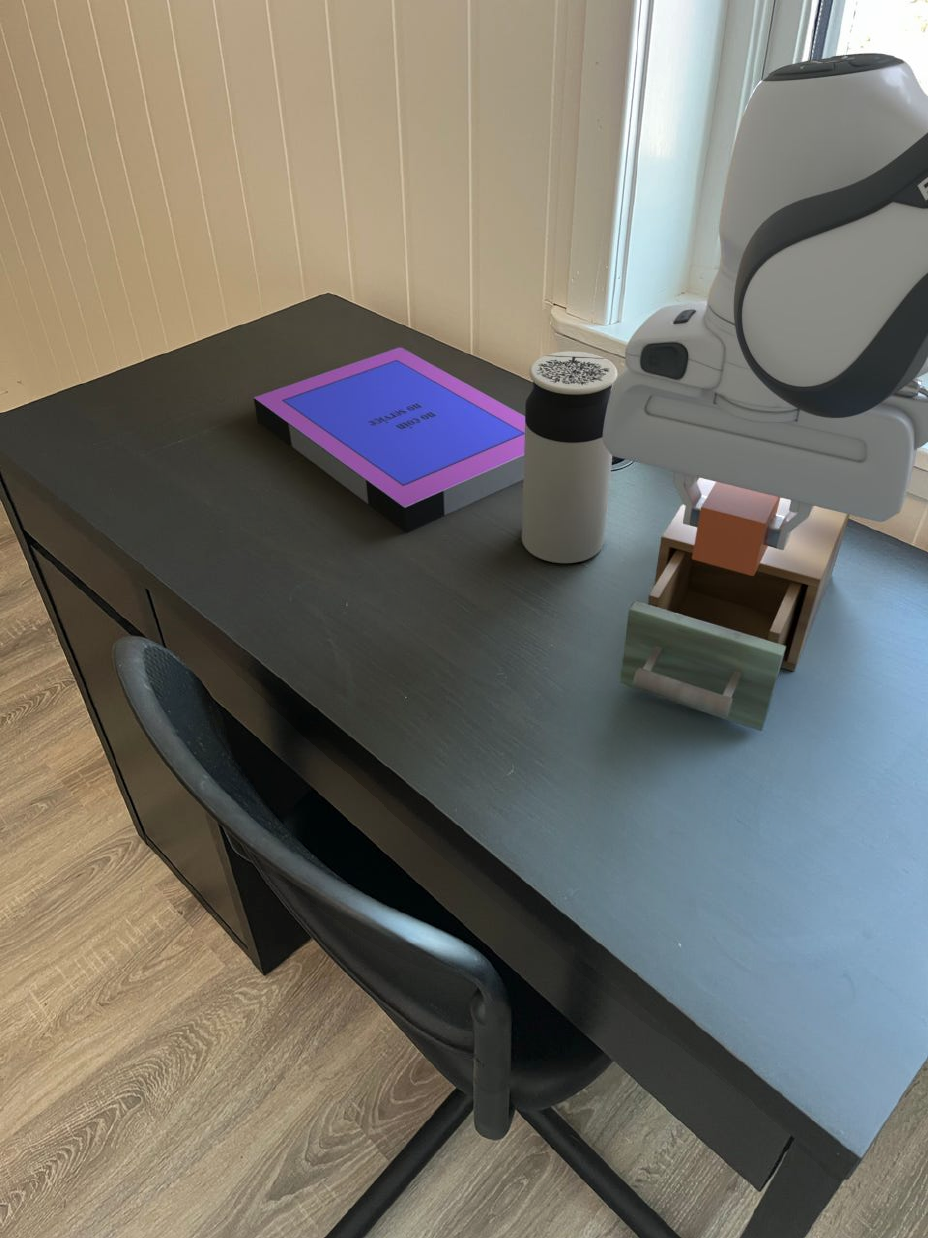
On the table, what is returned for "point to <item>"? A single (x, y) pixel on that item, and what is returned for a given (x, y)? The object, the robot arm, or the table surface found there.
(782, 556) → the cabinet
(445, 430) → the book
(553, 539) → the travel mug
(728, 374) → the robot arm
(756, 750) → the table surface
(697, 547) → the block
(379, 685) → the table surface
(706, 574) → the drawer
